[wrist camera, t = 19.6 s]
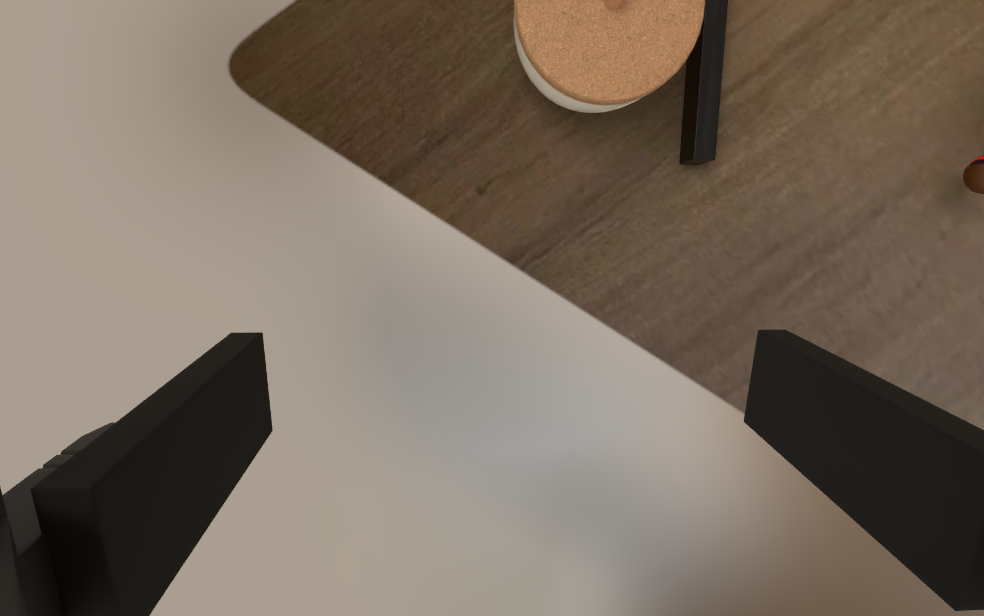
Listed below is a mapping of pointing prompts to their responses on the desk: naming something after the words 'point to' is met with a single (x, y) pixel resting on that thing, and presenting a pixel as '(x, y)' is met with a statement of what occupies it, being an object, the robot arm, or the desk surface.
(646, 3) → the trinket box
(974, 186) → the toy figure
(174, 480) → the robot arm
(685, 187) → the desk surface
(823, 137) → the desk surface
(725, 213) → the desk surface
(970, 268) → the desk surface
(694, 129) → the corner bracket
